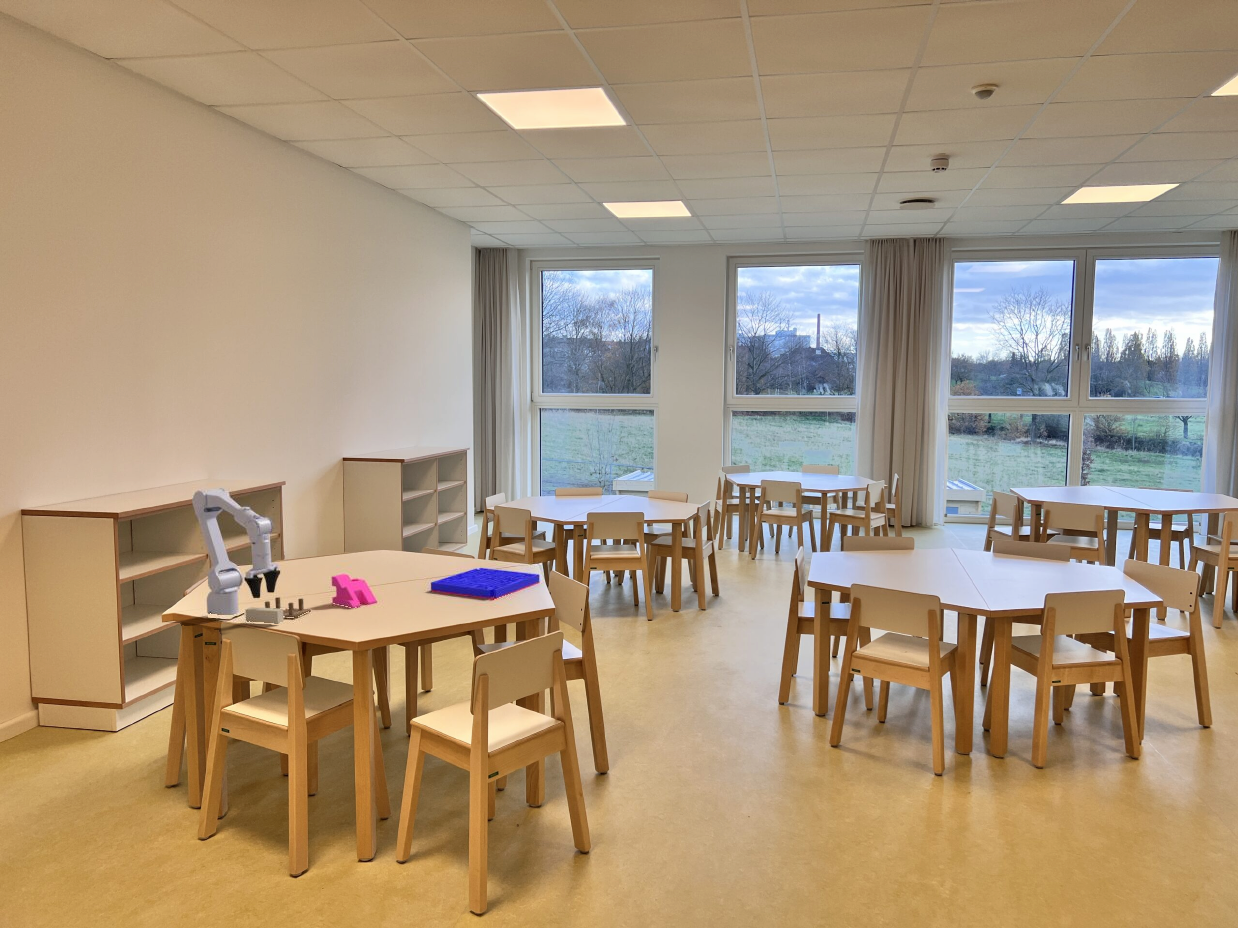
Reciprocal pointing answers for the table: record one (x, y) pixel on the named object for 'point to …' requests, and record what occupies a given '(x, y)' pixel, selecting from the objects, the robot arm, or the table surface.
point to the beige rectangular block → (264, 615)
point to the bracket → (351, 591)
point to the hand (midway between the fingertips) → (263, 595)
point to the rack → (291, 611)
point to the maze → (485, 583)
